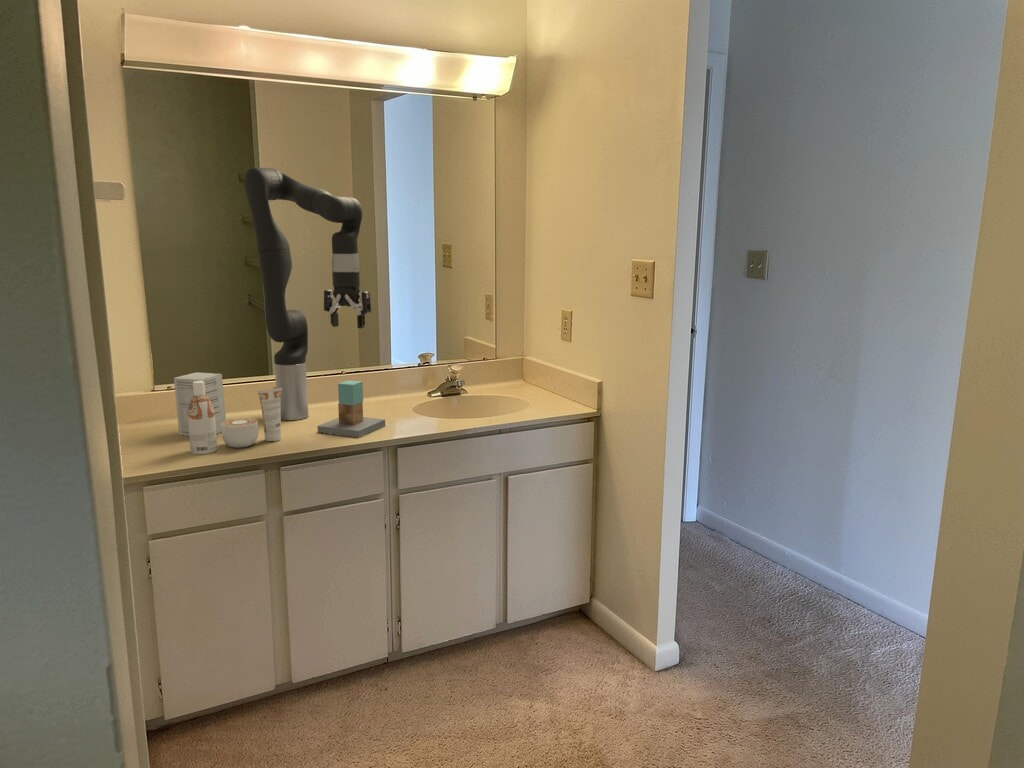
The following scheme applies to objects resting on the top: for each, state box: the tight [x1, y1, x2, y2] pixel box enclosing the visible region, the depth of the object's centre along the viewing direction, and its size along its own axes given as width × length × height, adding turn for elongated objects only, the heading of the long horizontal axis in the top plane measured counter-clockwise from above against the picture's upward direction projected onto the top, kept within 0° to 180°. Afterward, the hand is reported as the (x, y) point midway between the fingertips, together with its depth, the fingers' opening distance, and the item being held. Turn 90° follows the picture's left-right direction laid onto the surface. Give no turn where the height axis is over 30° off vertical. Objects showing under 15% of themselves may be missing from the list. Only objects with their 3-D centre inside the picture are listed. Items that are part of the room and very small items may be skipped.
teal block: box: [337, 379, 364, 405], centre depth 215 cm, size 5×5×6 cm
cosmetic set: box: [187, 381, 282, 455], centre depth 199 cm, size 25×9×19 cm, turn 127°
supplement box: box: [173, 372, 227, 437], centre depth 211 cm, size 10×9×17 cm
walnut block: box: [337, 401, 364, 425], centre depth 217 cm, size 5×5×6 cm
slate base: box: [316, 416, 386, 438], centre depth 217 cm, size 14×14×2 cm
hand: (348, 327), depth 212 cm, fingers open, 8 cm apart
